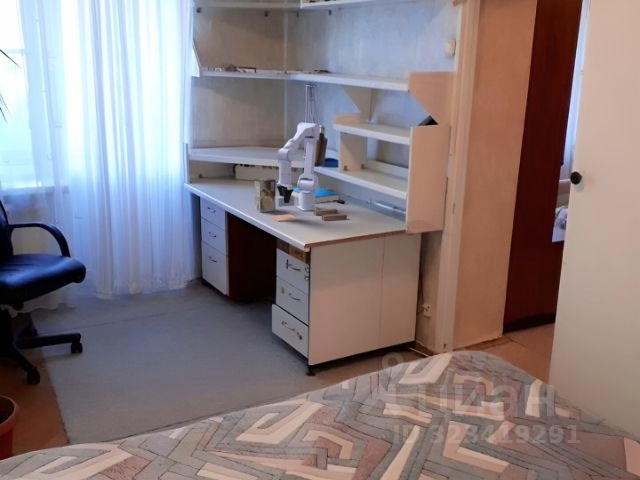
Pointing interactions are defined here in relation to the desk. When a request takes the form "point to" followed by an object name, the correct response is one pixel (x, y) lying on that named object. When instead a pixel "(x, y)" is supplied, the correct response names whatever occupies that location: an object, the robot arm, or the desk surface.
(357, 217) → the desk surface
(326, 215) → the pair of brown bars
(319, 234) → the desk surface
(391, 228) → the desk surface
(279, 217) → the tile
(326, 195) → the book
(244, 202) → the desk surface
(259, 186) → the coffee box
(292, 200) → the block
